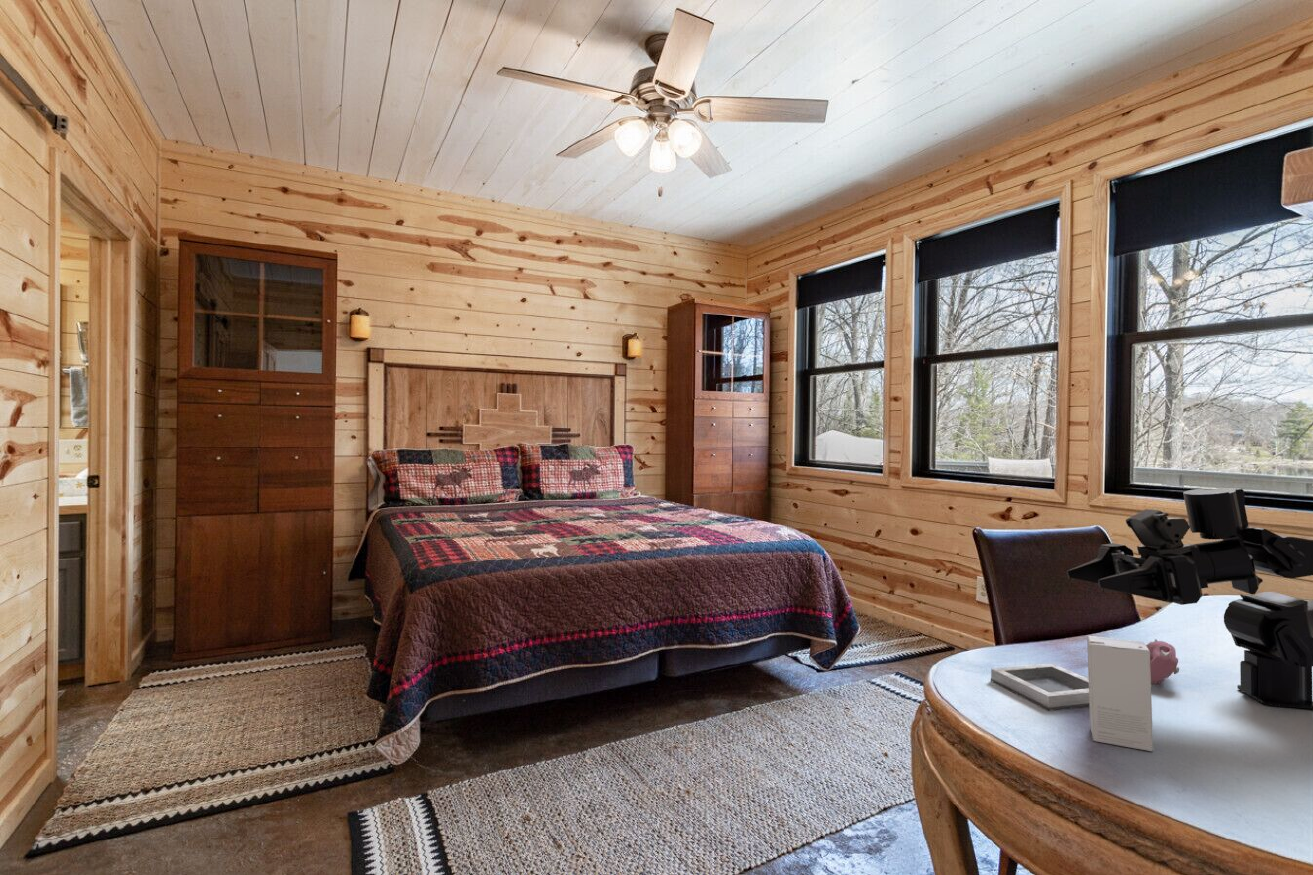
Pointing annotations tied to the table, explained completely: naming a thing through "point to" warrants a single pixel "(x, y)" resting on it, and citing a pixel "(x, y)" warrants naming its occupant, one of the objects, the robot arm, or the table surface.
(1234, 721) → the table surface
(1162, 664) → the video game controller
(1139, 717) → the skincare box
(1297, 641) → the robot arm
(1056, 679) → the collar
